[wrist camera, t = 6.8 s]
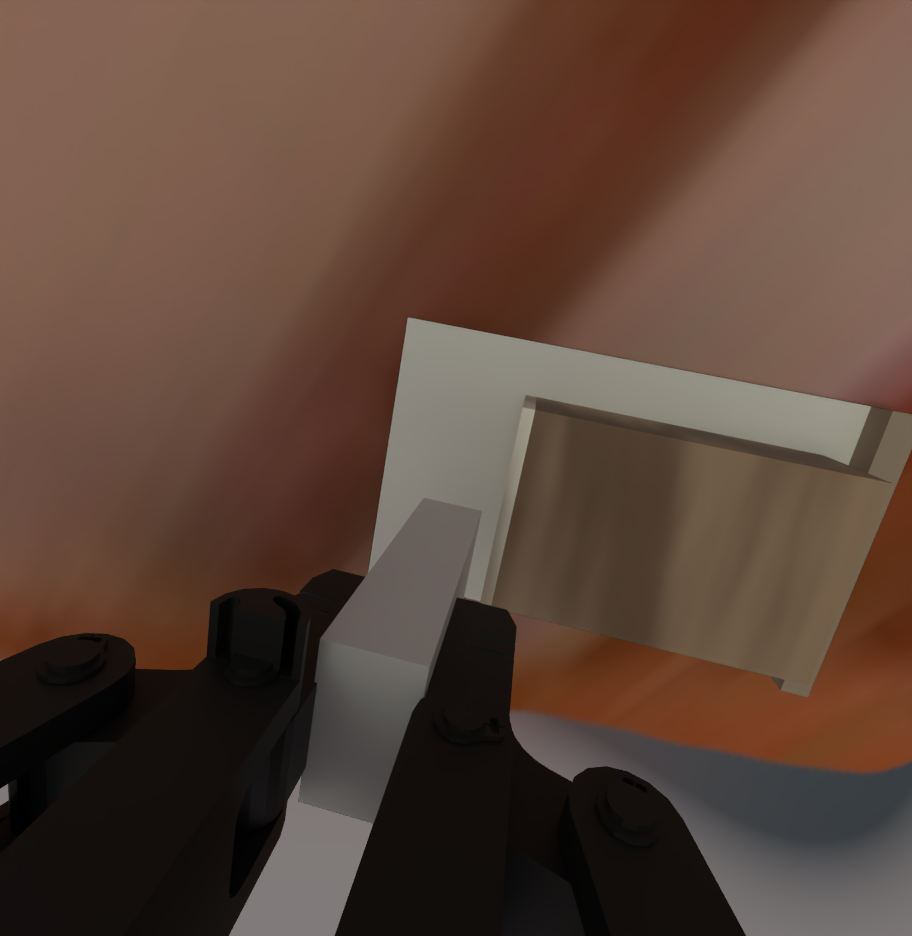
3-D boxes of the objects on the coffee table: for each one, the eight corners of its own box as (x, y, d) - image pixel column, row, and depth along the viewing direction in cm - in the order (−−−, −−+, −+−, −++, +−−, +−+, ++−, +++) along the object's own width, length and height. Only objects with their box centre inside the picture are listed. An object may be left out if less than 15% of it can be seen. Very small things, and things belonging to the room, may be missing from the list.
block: (479, 604, 18) (808, 685, 17) (522, 407, 17) (893, 483, 16) (489, 559, 22) (760, 623, 21) (526, 394, 21) (822, 455, 19)
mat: (372, 568, 24) (359, 585, 22) (411, 318, 21) (400, 316, 19) (786, 669, 22) (807, 697, 20) (890, 410, 19) (924, 417, 18)
